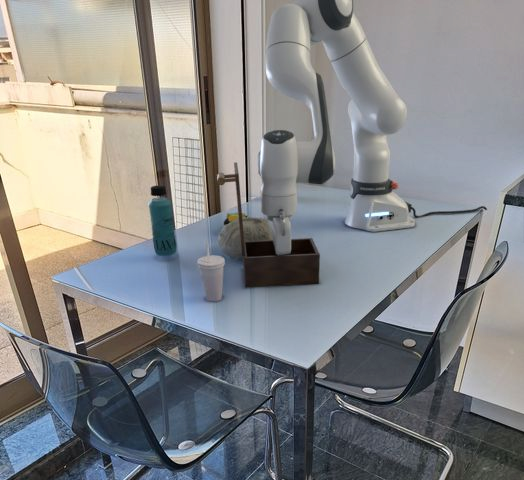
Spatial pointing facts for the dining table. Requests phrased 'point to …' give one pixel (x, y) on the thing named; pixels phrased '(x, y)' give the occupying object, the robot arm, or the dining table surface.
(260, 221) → the decorative shell
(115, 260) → the dining table surface
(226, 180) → the lid
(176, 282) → the dining table surface
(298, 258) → the chest
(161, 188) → the beverage bottle
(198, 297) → the dining table surface
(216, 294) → the smoothie
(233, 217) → the gadget
